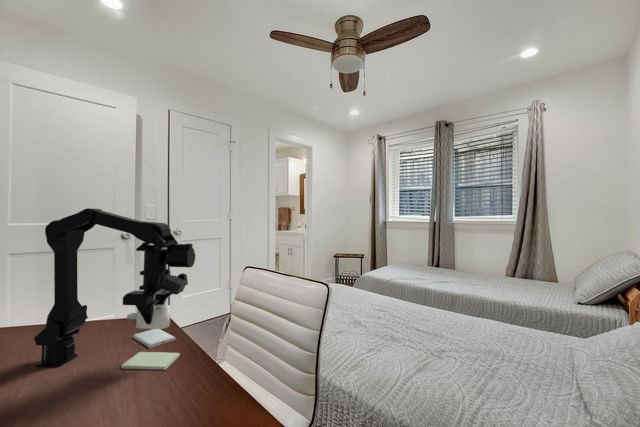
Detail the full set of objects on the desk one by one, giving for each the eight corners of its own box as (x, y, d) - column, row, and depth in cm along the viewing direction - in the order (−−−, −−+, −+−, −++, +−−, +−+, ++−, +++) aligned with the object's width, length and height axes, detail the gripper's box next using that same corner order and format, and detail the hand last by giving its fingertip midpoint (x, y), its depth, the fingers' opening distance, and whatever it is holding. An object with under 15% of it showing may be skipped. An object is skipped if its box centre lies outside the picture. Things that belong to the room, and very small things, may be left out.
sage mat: (121, 368, 79) (121, 365, 79) (139, 354, 87) (139, 351, 87) (165, 369, 79) (165, 366, 79) (179, 355, 87) (179, 352, 87)
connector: (124, 328, 81) (125, 308, 81) (133, 322, 85) (134, 304, 85) (165, 329, 81) (165, 309, 81) (172, 323, 85) (173, 305, 85)
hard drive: (133, 334, 98) (149, 344, 91) (158, 327, 105) (175, 336, 98) (133, 339, 98) (149, 349, 91) (158, 332, 105) (175, 341, 97)
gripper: (166, 273, 74) (163, 335, 73) (197, 262, 92) (195, 311, 92) (122, 272, 74) (119, 334, 73) (162, 261, 92) (160, 310, 92)
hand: (153, 321), depth 83 cm, fingers closed on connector, 4 cm apart
